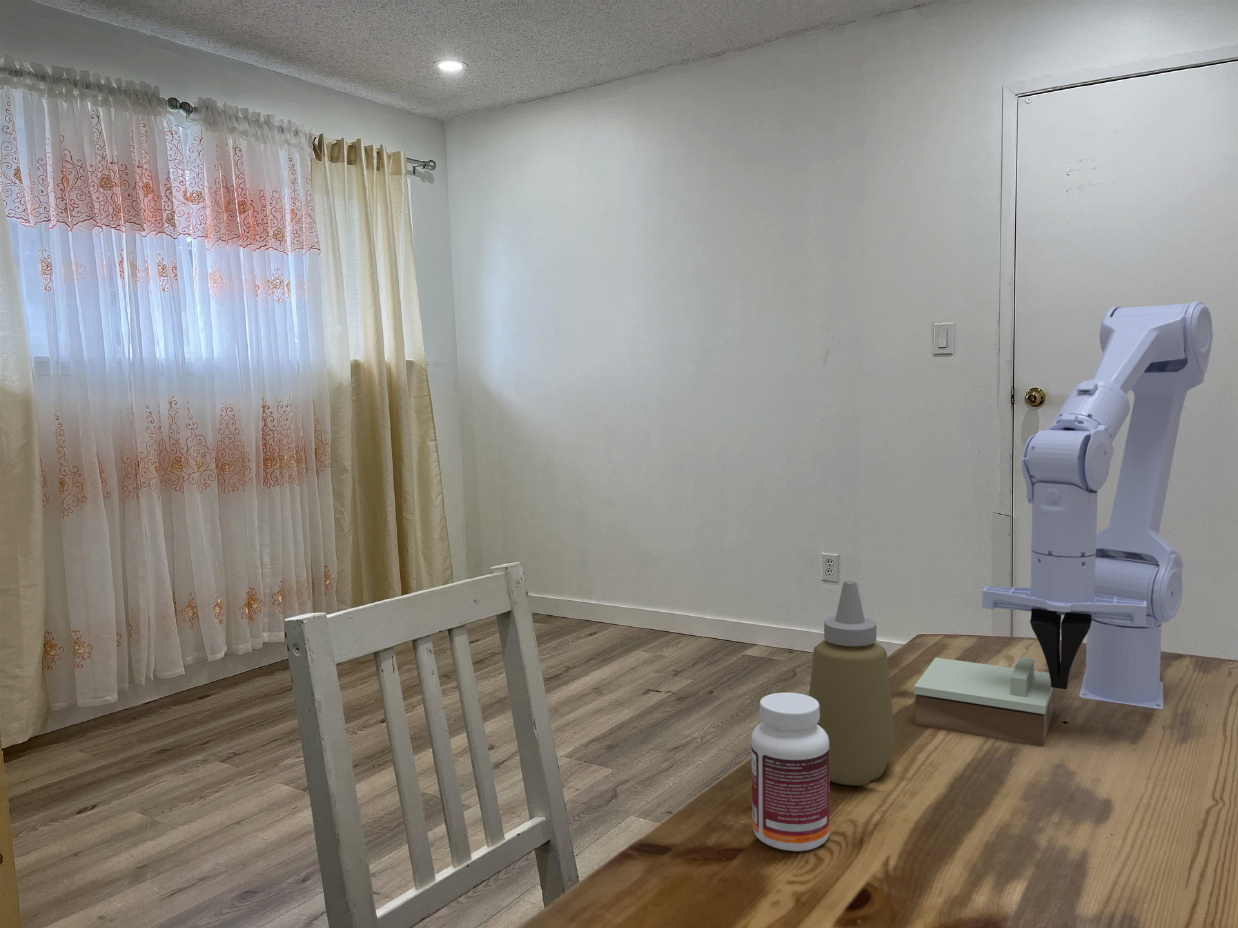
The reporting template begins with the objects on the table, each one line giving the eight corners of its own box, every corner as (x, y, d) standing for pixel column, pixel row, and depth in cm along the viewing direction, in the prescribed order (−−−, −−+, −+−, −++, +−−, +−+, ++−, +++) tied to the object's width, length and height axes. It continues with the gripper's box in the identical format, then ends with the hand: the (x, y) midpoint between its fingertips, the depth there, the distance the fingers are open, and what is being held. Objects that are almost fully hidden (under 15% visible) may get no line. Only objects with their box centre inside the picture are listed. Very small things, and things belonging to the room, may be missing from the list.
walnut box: (935, 698, 102) (936, 667, 102) (1053, 717, 96) (1054, 684, 96) (915, 729, 94) (915, 695, 93) (1042, 752, 88) (1043, 716, 87)
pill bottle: (846, 838, 73) (846, 705, 72) (789, 862, 69) (789, 723, 68) (791, 808, 78) (790, 683, 77) (736, 829, 74) (734, 699, 73)
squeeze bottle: (788, 775, 84) (787, 584, 82) (832, 747, 90) (832, 569, 88) (868, 802, 78) (869, 598, 77) (910, 770, 84) (912, 580, 82)
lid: (935, 664, 102) (935, 641, 102) (1055, 680, 96) (1056, 657, 96) (914, 693, 93) (914, 669, 93) (1044, 714, 87) (1045, 687, 87)
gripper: (978, 553, 90) (975, 686, 91) (1148, 566, 82) (1142, 710, 84) (989, 540, 96) (987, 665, 97) (1148, 551, 88) (1143, 687, 90)
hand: (1059, 685), depth 91 cm, fingers closed
